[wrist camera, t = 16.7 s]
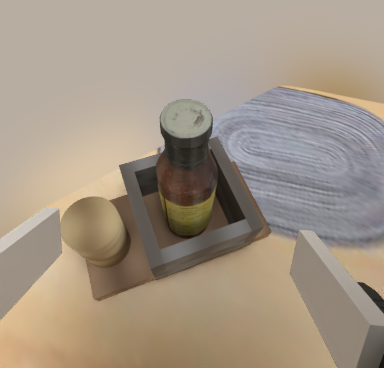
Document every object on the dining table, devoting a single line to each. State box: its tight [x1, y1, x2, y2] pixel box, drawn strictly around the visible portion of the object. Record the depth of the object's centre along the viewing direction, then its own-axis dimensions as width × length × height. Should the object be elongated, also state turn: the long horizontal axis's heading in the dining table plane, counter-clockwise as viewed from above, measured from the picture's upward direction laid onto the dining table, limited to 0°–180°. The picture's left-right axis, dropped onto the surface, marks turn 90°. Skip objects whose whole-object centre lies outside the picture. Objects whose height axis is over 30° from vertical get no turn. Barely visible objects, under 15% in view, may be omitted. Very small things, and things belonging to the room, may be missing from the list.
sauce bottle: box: [156, 99, 218, 238], centre depth 29 cm, size 6×6×20 cm
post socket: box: [60, 137, 271, 301], centre depth 35 cm, size 24×13×10 cm, turn 111°
